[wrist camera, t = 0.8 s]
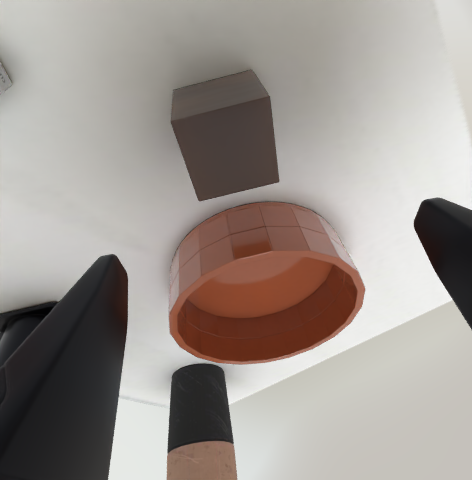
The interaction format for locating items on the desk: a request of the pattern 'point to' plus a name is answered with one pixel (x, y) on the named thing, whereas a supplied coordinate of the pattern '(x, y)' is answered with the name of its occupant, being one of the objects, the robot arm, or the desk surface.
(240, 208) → the bowl
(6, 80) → the ink cartridge box
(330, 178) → the desk surface
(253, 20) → the desk surface
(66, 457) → the robot arm
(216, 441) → the travel mug
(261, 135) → the block
